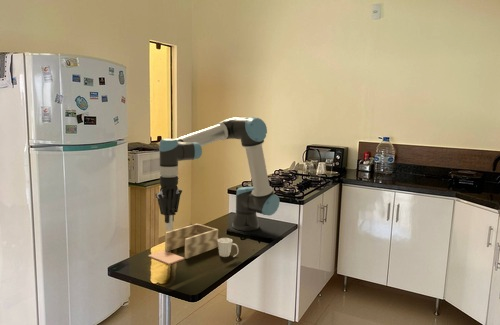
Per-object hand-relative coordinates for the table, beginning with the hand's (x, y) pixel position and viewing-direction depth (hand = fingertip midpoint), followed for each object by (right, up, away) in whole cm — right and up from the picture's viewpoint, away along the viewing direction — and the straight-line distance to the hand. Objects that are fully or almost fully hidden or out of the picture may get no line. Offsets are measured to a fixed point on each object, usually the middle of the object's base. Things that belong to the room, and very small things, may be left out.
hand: (169, 229), depth 166 cm
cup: (+25, -14, +6) cm, 29 cm away
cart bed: (+8, -12, +13) cm, 19 cm away
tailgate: (+1, -12, +4) cm, 13 cm away
